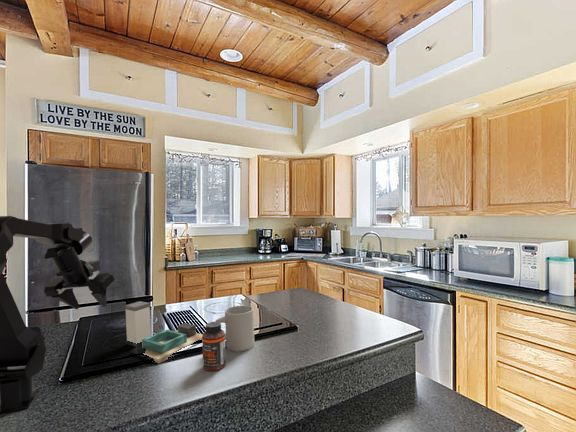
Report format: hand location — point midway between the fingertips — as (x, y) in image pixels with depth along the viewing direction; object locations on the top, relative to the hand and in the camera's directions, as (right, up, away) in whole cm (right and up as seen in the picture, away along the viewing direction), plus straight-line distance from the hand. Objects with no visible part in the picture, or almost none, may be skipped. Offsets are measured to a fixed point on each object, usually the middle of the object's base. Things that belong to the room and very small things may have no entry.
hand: (91, 307), depth 97 cm
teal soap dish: (+24, -13, +1) cm, 27 cm away
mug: (+44, -12, 0) cm, 45 cm away
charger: (+12, -13, +5) cm, 18 cm away
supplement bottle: (+40, -12, -12) cm, 44 cm away
